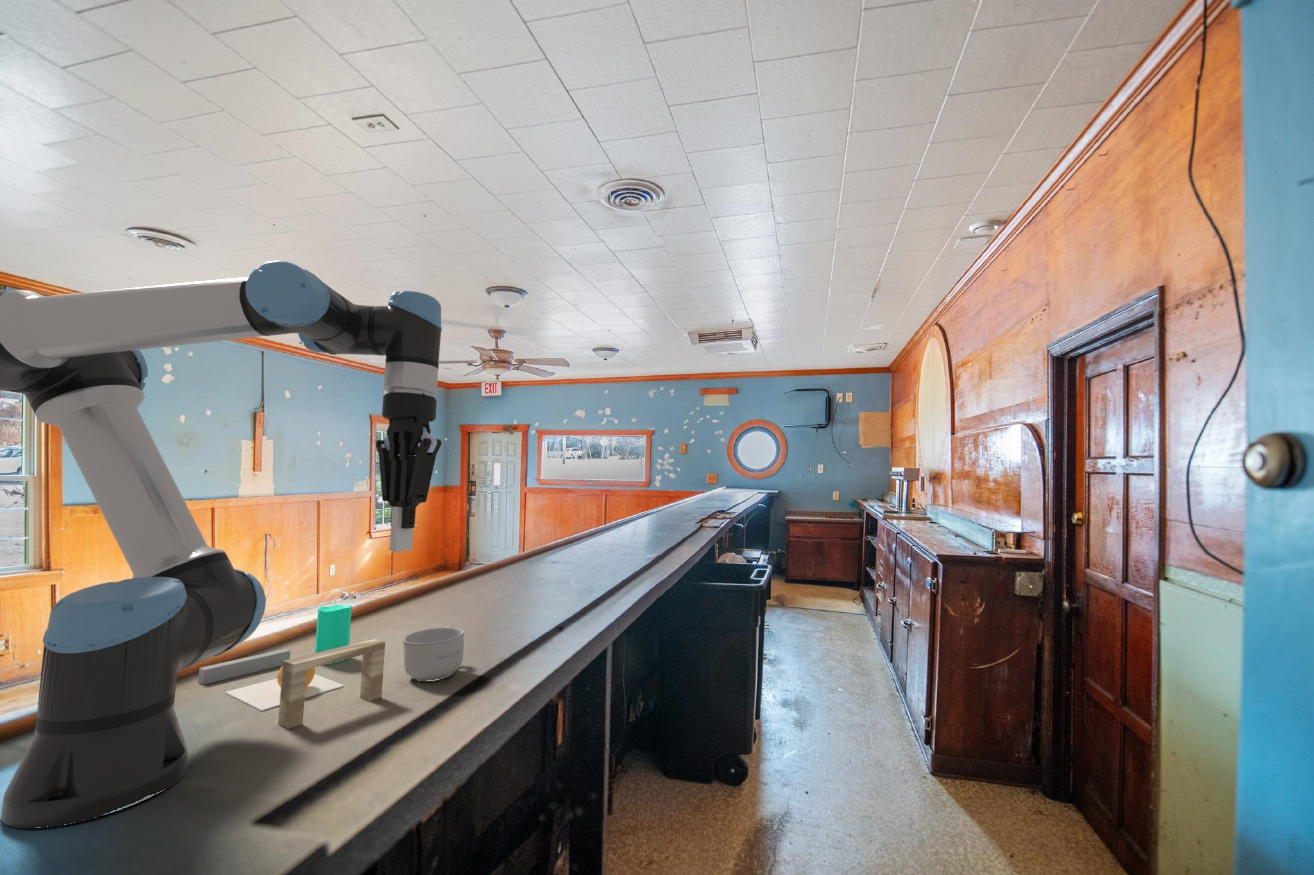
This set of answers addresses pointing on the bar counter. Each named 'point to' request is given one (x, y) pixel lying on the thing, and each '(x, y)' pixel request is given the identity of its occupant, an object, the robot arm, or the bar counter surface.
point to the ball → (309, 676)
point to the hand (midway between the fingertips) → (400, 550)
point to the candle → (333, 627)
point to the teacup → (433, 652)
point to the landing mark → (278, 692)
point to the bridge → (297, 667)
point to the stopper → (242, 666)
